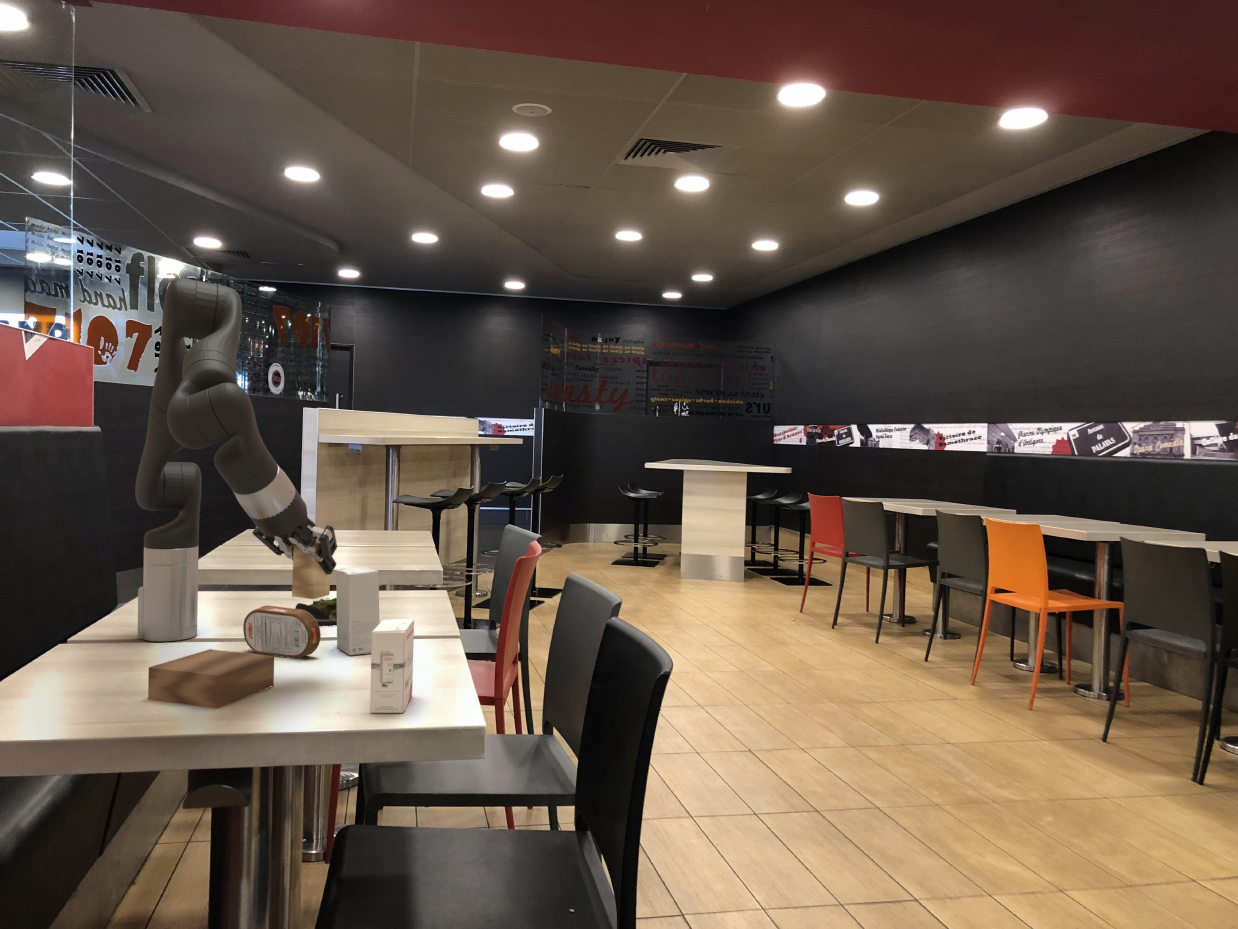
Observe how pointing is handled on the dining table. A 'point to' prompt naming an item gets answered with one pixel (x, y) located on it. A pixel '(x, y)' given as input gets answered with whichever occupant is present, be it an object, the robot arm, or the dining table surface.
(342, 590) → the skincare box
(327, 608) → the salad plate
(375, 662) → the ink box
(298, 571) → the oak post
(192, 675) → the walnut slab
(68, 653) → the dining table surface
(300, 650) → the tin
